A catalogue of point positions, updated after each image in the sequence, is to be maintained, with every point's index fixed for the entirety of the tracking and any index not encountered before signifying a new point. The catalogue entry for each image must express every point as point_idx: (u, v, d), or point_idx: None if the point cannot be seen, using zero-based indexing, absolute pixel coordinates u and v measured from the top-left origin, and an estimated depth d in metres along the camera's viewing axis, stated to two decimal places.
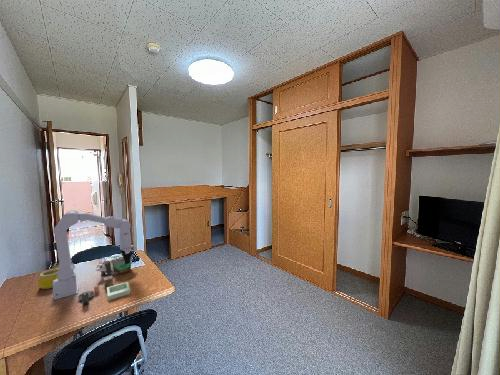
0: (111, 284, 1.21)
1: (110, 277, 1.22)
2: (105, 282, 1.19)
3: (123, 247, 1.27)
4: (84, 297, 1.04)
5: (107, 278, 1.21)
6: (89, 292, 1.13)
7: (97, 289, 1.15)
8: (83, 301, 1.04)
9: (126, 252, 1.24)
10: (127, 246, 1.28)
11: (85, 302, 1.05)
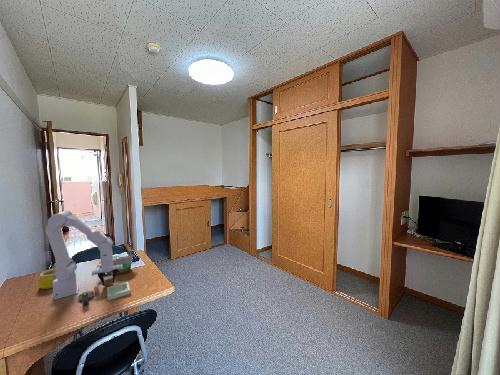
0: (111, 284, 1.21)
1: (110, 277, 1.22)
2: (105, 282, 1.19)
3: None
4: (84, 297, 1.04)
5: (107, 278, 1.21)
6: (89, 292, 1.13)
7: (97, 289, 1.15)
8: (83, 301, 1.04)
9: None
10: (101, 268, 1.19)
11: (85, 302, 1.05)
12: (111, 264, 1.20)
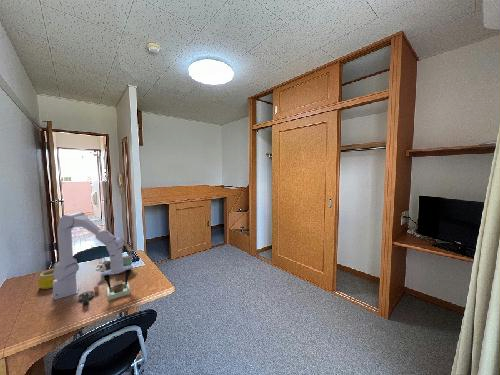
0: (121, 290, 1.15)
1: (120, 282, 1.16)
2: (115, 287, 1.13)
3: None
4: (84, 297, 1.04)
5: (117, 283, 1.15)
6: (89, 292, 1.13)
7: (97, 289, 1.15)
8: (83, 301, 1.04)
9: None
10: (110, 269, 1.12)
11: (85, 302, 1.05)
12: (121, 265, 1.14)
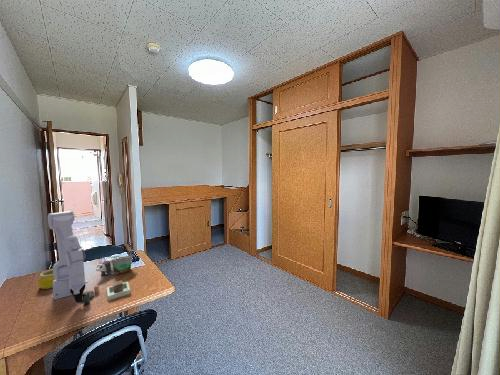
0: (121, 290, 1.15)
1: (120, 282, 1.16)
2: (115, 287, 1.13)
3: (73, 285, 1.01)
4: (85, 297, 1.05)
5: (117, 283, 1.15)
6: (89, 292, 1.13)
7: (97, 289, 1.15)
8: (84, 301, 1.05)
9: (75, 292, 0.97)
10: (78, 283, 1.02)
11: (86, 302, 1.05)
12: None
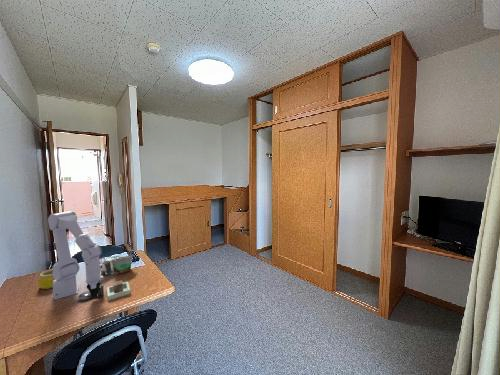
0: (121, 290, 1.15)
1: (120, 282, 1.16)
2: (115, 287, 1.13)
3: (89, 280, 1.05)
4: (102, 288, 1.12)
5: (117, 283, 1.15)
6: (85, 293, 1.13)
7: None
8: (101, 292, 1.11)
9: (92, 287, 1.02)
10: (94, 278, 1.06)
11: (103, 293, 1.12)
12: None
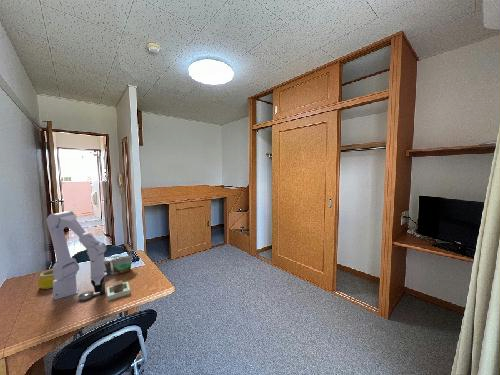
0: (121, 290, 1.15)
1: (120, 282, 1.16)
2: (115, 287, 1.13)
3: (94, 276, 1.09)
4: (104, 285, 1.15)
5: (117, 283, 1.15)
6: (83, 293, 1.12)
7: None
8: (104, 289, 1.14)
9: (96, 283, 1.06)
10: (99, 275, 1.10)
11: None
12: None
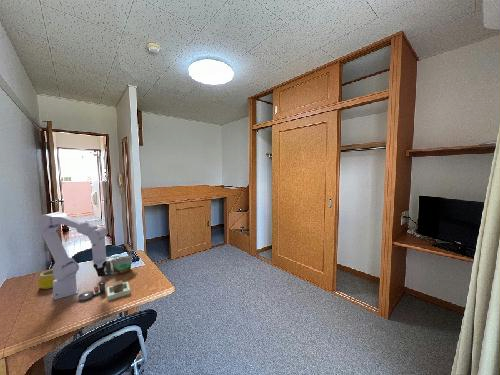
0: (121, 290, 1.15)
1: (120, 282, 1.16)
2: (115, 287, 1.13)
3: (96, 260, 1.10)
4: None
5: (117, 283, 1.15)
6: (83, 294, 1.12)
7: (97, 289, 1.15)
8: (104, 288, 1.16)
9: (98, 266, 1.07)
10: (101, 259, 1.11)
11: None
12: None
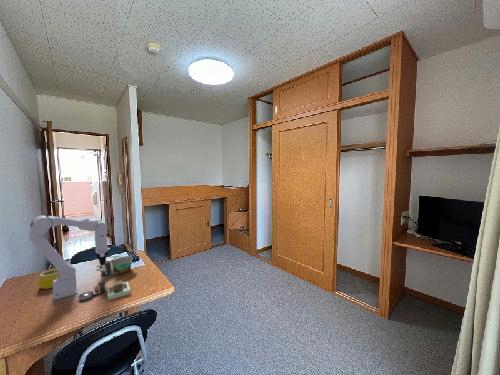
0: (121, 290, 1.15)
1: (120, 282, 1.16)
2: (115, 287, 1.13)
3: (98, 250, 1.24)
4: None
5: (117, 283, 1.15)
6: (83, 294, 1.12)
7: (97, 289, 1.15)
8: (104, 288, 1.16)
9: (101, 255, 1.20)
10: (103, 249, 1.25)
11: None
12: None
